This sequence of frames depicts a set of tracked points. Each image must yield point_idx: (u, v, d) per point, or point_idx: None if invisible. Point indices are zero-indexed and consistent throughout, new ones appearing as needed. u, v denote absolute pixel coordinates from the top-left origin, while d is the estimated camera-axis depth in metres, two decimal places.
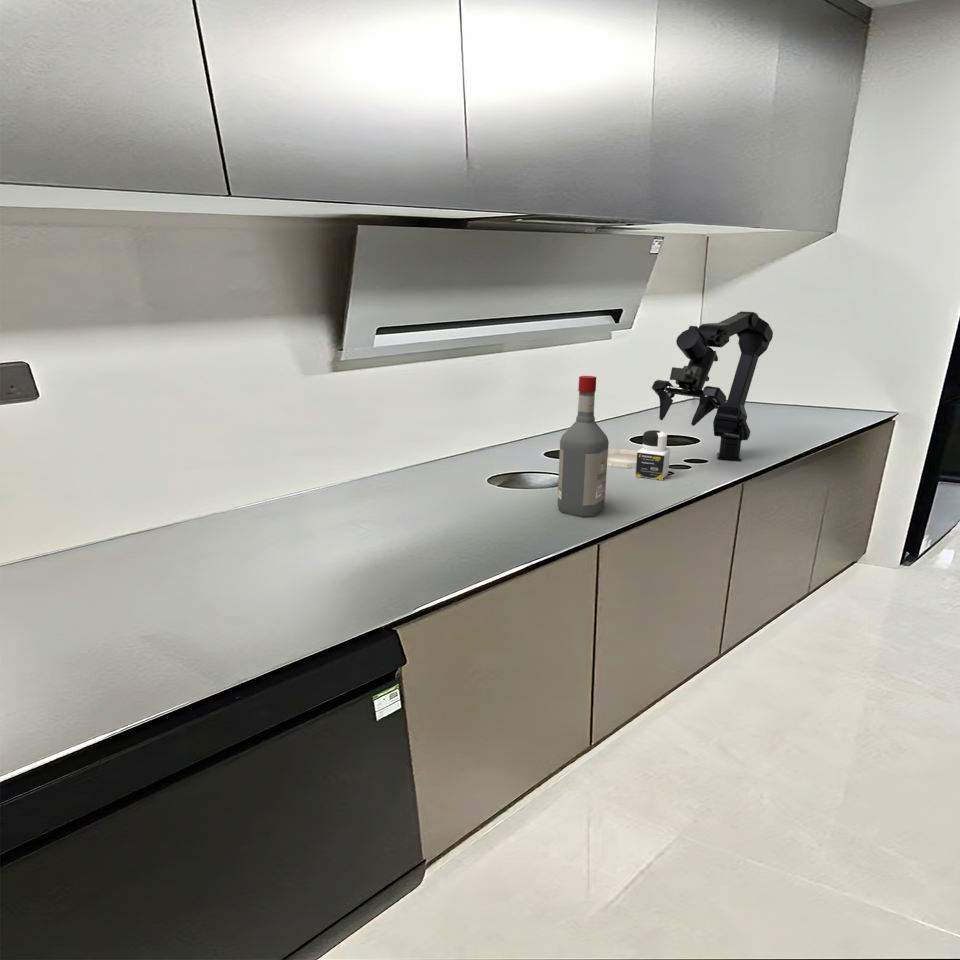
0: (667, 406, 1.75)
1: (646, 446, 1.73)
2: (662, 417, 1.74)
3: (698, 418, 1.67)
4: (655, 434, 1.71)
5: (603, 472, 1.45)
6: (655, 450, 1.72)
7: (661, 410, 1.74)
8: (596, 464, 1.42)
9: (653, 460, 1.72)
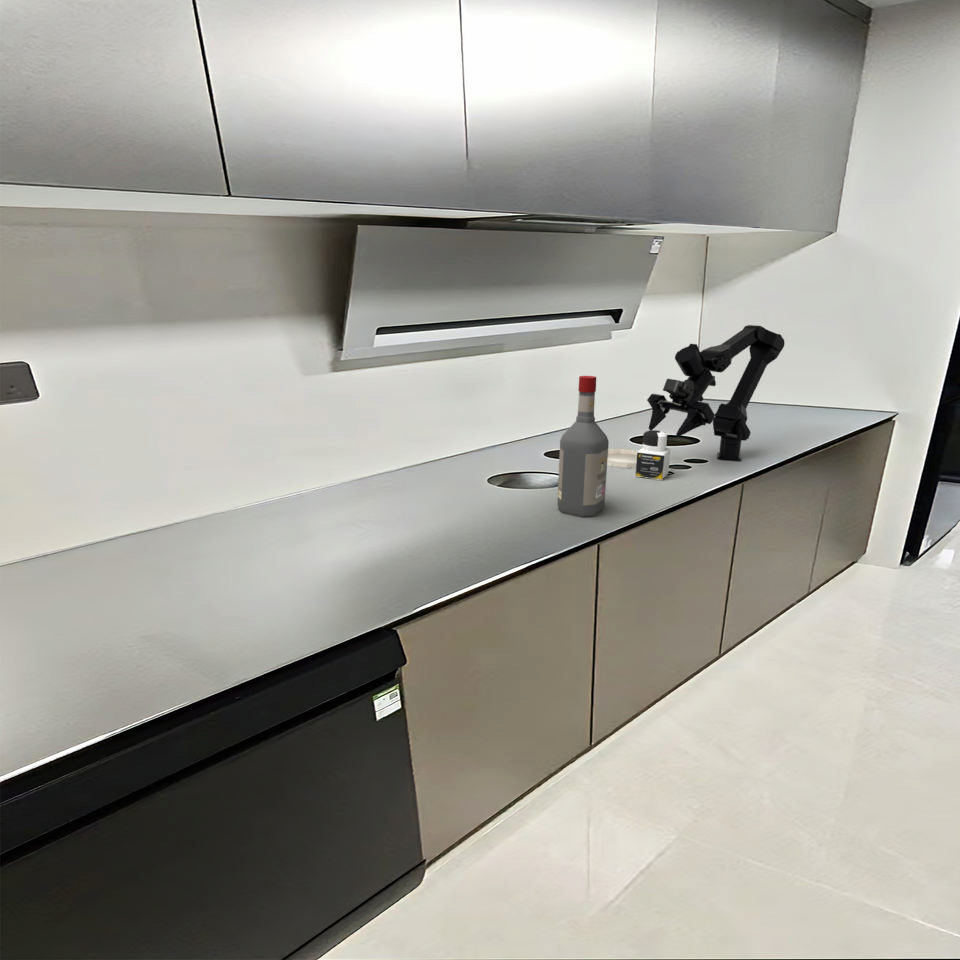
0: (658, 419, 1.80)
1: (646, 446, 1.73)
2: (651, 427, 1.79)
3: (684, 430, 1.72)
4: (655, 434, 1.71)
5: (603, 472, 1.45)
6: (655, 450, 1.72)
7: (651, 420, 1.79)
8: (596, 464, 1.42)
9: (653, 460, 1.72)
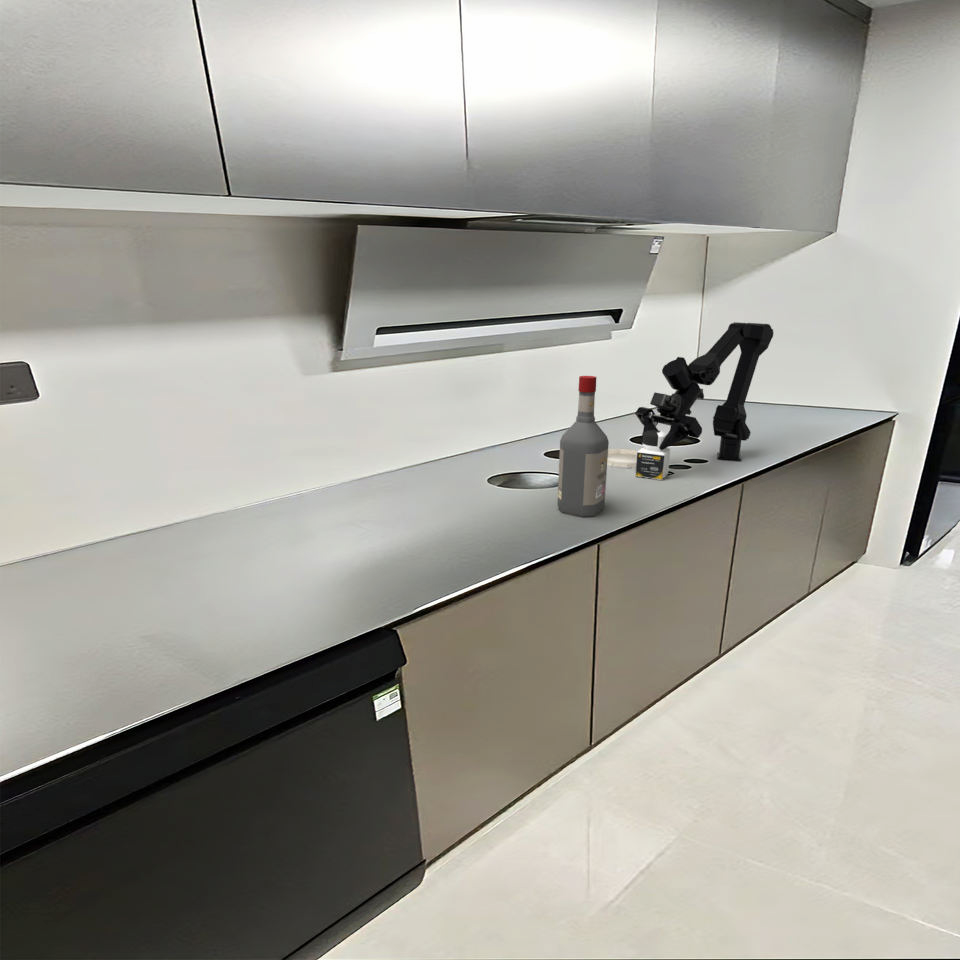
0: None
1: (646, 446, 1.73)
2: None
3: (667, 443, 1.71)
4: (655, 434, 1.71)
5: (603, 472, 1.45)
6: (655, 450, 1.72)
7: None
8: (596, 464, 1.42)
9: (653, 460, 1.72)
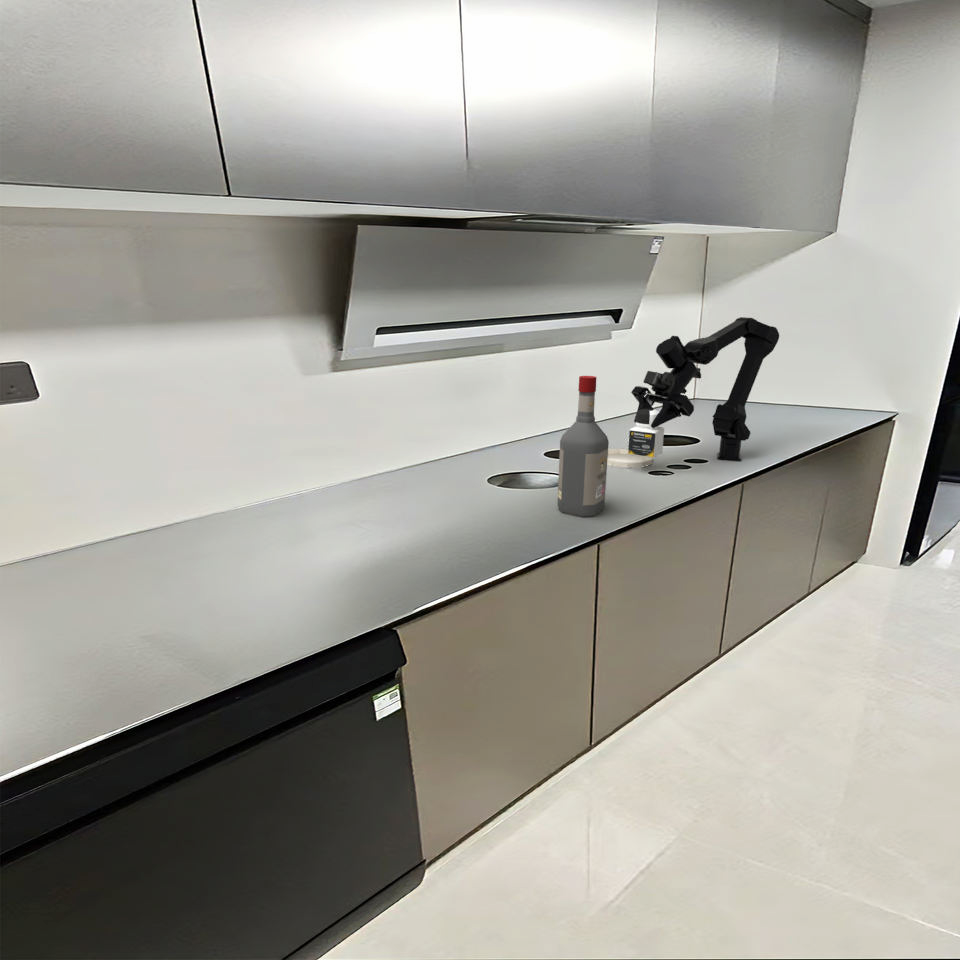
0: None
1: (638, 424, 1.75)
2: None
3: (658, 421, 1.73)
4: (647, 412, 1.73)
5: (603, 472, 1.45)
6: (647, 428, 1.74)
7: None
8: (596, 464, 1.42)
9: (645, 438, 1.74)
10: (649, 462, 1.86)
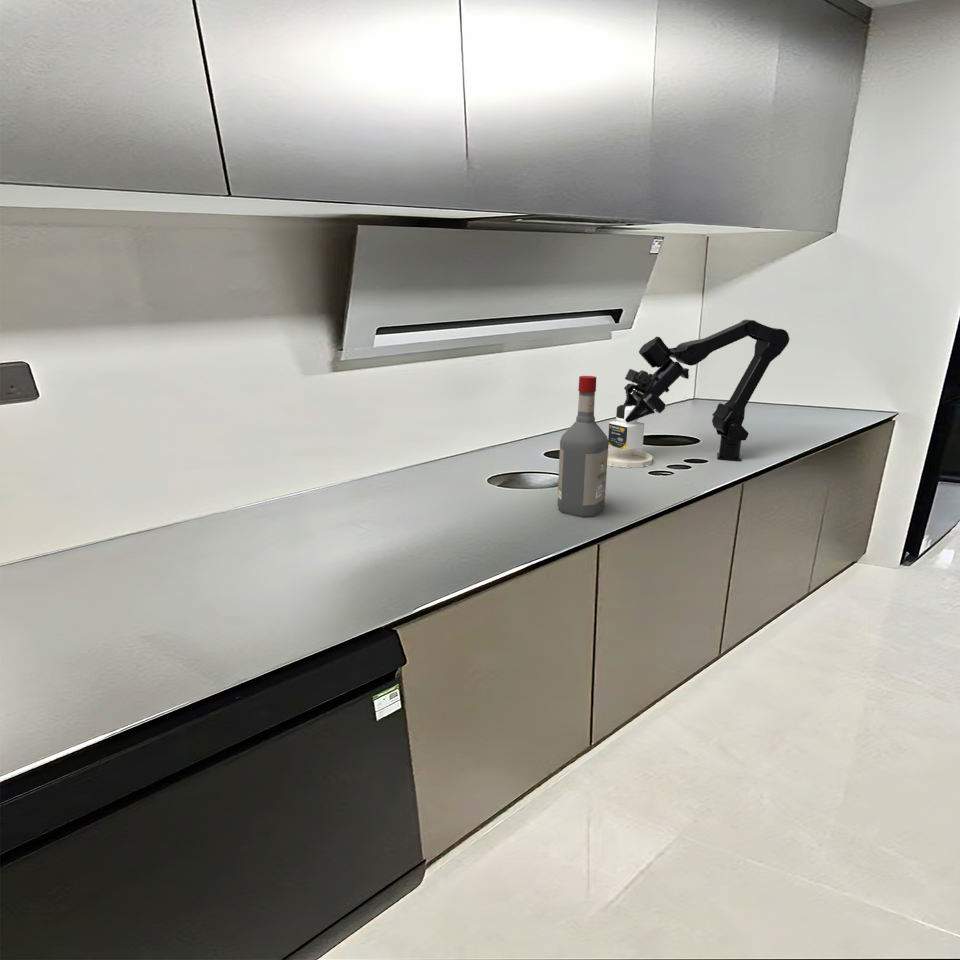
0: None
1: (616, 418, 1.88)
2: None
3: (632, 416, 1.84)
4: (623, 407, 1.85)
5: (603, 472, 1.45)
6: (623, 422, 1.86)
7: None
8: (596, 464, 1.42)
9: (619, 431, 1.86)
10: (649, 462, 1.86)
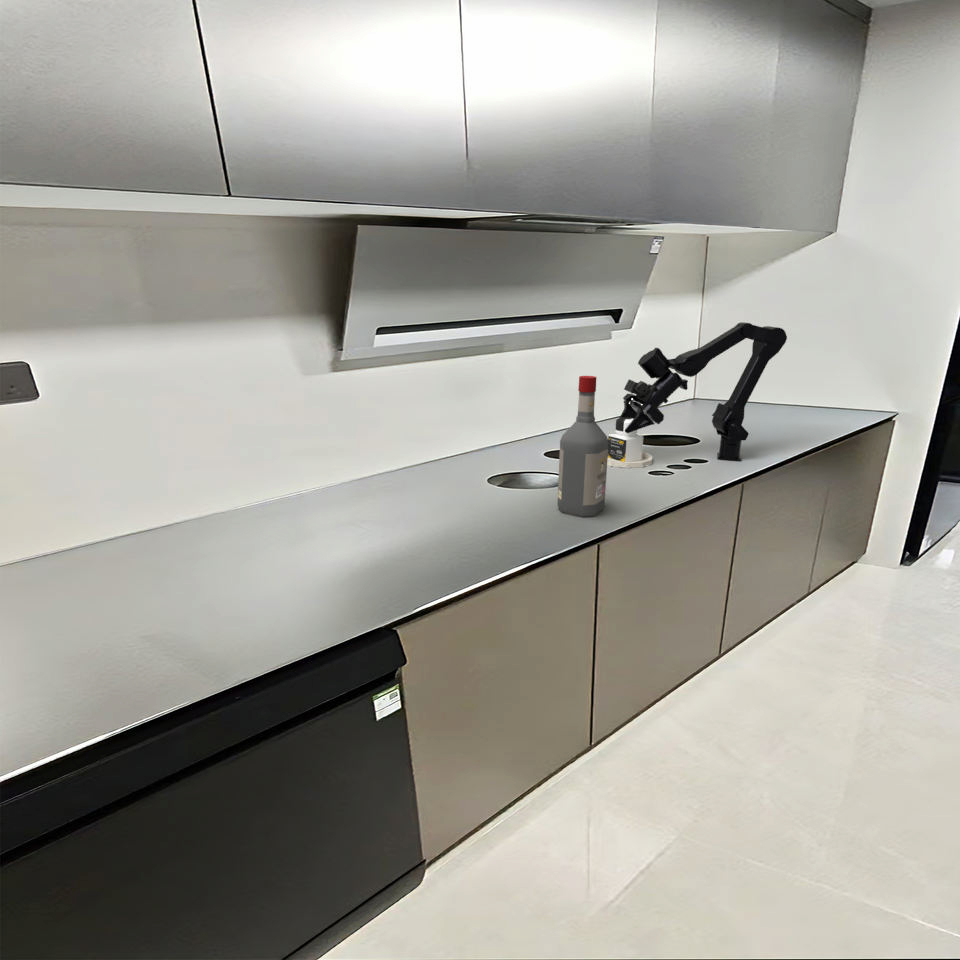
0: None
1: (616, 431, 1.89)
2: None
3: (632, 427, 1.84)
4: (622, 420, 1.86)
5: (603, 472, 1.45)
6: (622, 435, 1.87)
7: None
8: (596, 464, 1.42)
9: (618, 444, 1.87)
10: (649, 462, 1.86)
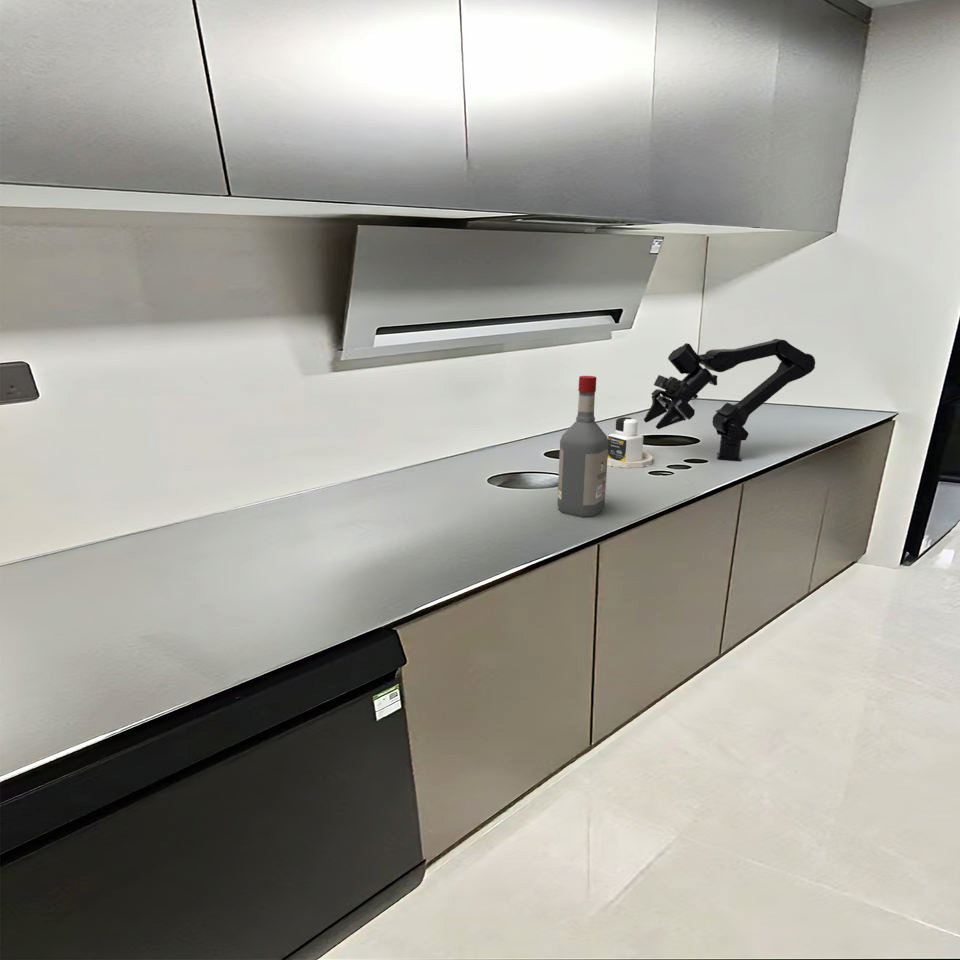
0: (656, 412, 1.94)
1: (616, 430, 1.89)
2: (646, 420, 1.93)
3: (663, 423, 1.84)
4: (622, 420, 1.86)
5: (603, 472, 1.45)
6: (622, 435, 1.87)
7: (647, 413, 1.94)
8: (596, 464, 1.42)
9: (618, 444, 1.87)
10: (649, 462, 1.86)
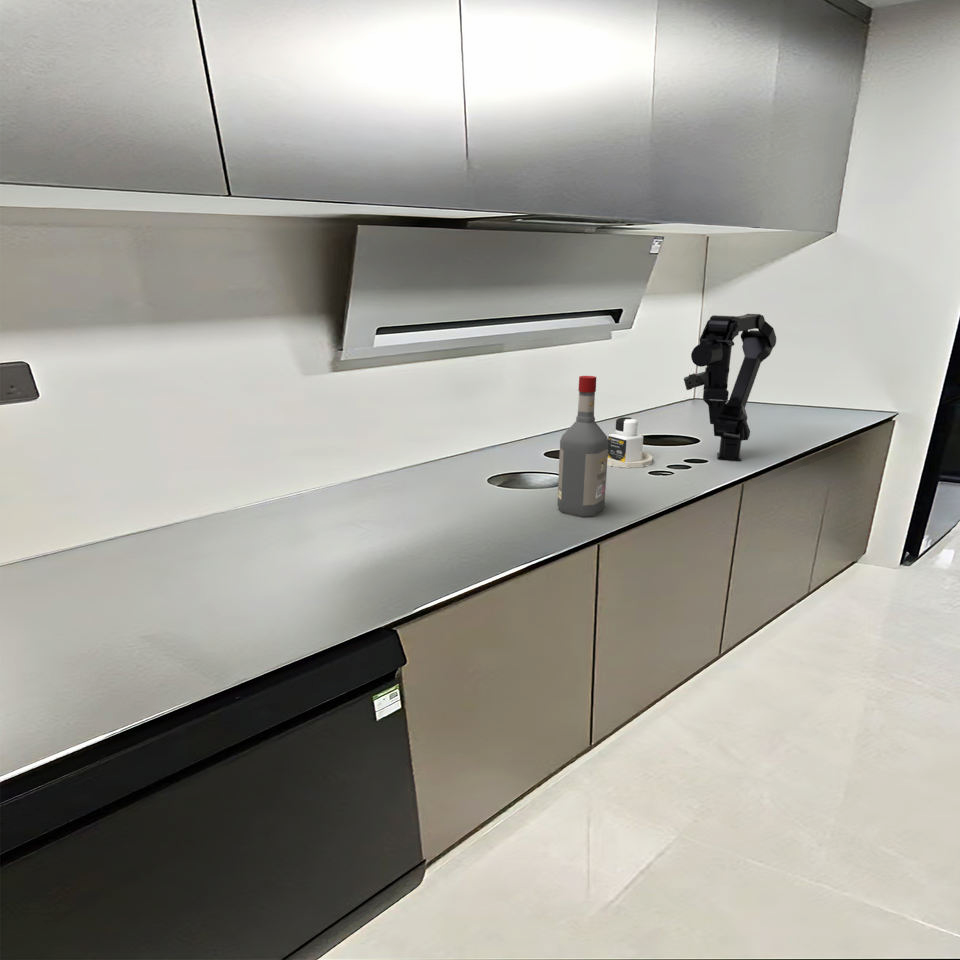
0: None
1: (616, 431, 1.89)
2: None
3: (713, 416, 1.77)
4: (622, 420, 1.86)
5: (603, 472, 1.45)
6: (622, 435, 1.87)
7: None
8: (596, 464, 1.42)
9: (618, 444, 1.87)
10: (649, 462, 1.86)
